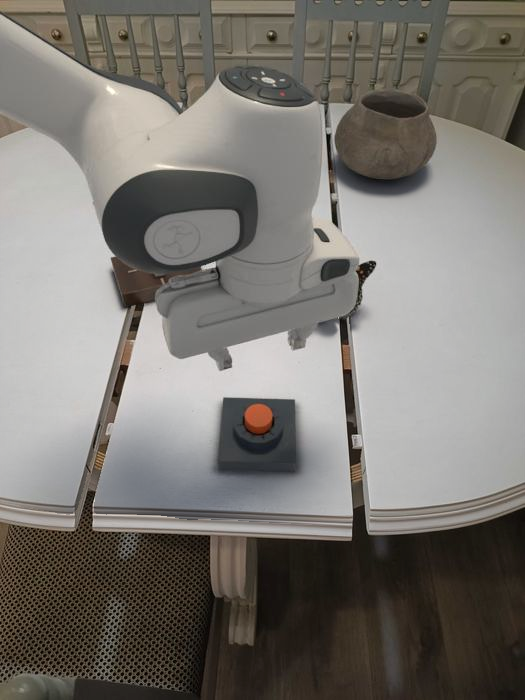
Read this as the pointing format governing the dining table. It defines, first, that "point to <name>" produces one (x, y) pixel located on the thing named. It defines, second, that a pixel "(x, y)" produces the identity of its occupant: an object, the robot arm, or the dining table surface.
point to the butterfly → (361, 282)
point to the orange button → (258, 418)
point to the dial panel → (140, 282)
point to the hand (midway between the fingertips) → (260, 355)
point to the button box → (257, 437)
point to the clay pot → (386, 134)
